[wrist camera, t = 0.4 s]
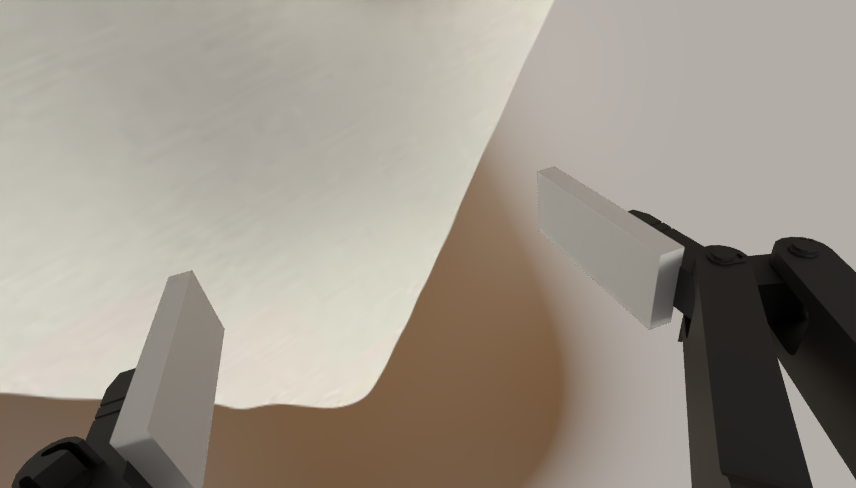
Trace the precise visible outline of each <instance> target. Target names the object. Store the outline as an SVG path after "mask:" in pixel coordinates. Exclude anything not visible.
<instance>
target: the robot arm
mask: <svg viewBox="0 0 856 488" xmlns="http://www.w3.org/2000/svg"><path fill="white" fill-rule="evenodd" d="M537 183H538V221H539V232H541V233H542V234H543V235H544V236H545V237H546V238H547V239H548V240H549V241H551V242H552V243H553V244H554V245H555V246H556V247H557V248H558V249H559V250H561V251H562V252H563V253H564V254H565V255H566V256H567V257H568V258H570V259H571V260H572V261H573V262H574V263H575V264H576V265H577V266H578V267H580V268H581V269H582V270H583V271H584V272H585V273H586V274H587V275H588V276H590V277H591V278H592V279H593V280H594V281H595V282H596V283H597V284H599V285H600V286H601V287H602V288H603V289H604V290H605V291H606V292H608V293H609V294H610V295H611V296H612V297H613V298H614V299H615V300H616V301H618V302H619V303H620V304H621V305H622V306H623V307H624V308H625V309H626V310H627V311H629V312H630V313H631V314H632V315H633V316H634V317H635V318H636V319H638V320H639V321H640V322H641V323H642V324H643V325H644V326H645V327H646V328H648V329H649V330H650V329H653V328H656V327H658V326H661V325H664V324H667V323H669V322H671V318H672V312H673V307H675V308H677V309H678V310H679V311H680V312H682V313H683V319H682V324H681V329H680V334H679V339H678V341H679V342H682V341H683V352H684V368H685V383H686V401H687V417H688V432H689V448H690V465H691V481H692V488H813V486H812V483H811V480H810V475H809V472H808V468H807V465H806V461H805V457H804V454H803V450H802V446H801V443H800V439H799V435H798V432H797V428H796V424H795V421H794V417H793V413H792V410H791V407H790V403H789V399H788V395H787V392H786V388H785V384H784V381H783V377H782V374H781V370H780V367H779V363H778V359H779V361H780V362H781V364H782V365H783V367H784V368H785V370H786V372H787V373H788V375H789V376H790V378H791V379H792V381H793V383H794V384H795V385H796V387H797V389H798V390H799V392H800V393H801V395H802V397H803V398H804V400H805V401H806V403H807V404H808V406H809V407H810V409H811V411H812V412H813V414H814V415H815V417H816V418H817V420H818V421H819V423H820V424H821V426H822V427H823V429H824V431H825V432H826V434H827V435H828V437H829V439H830V440H831V442H832V443H833V445H834V446H835V448H836V449H837V451H838V453H839V454H840V456H841V457H842V459H843V460H844V462H845V463H846V465H847V466H848V468H849V469H850V471H851V473H852V474H853V476H854V478H855V479H856V272H855V271H854V270H853V269H852V268H851V267H850V266H849V265H848V264H846V263H845V261H843V260H842V259H841V258H840V257H839V256H838V255H837V254H836V253H835V252H834V251H833V250H832V249H831V248H829V247H828V246H826V245H825V244H823V243H820V242H817V241H815V240H813V239H809V238H808V239H807V238H803V237H788V238H782V239H780V240H778V241H776V242H775V244H774V247H773V250H772V253H771V254H765V255H755V256H747V255H746V254H744V253H743V252H741V251H740V250H737V249H734V248H731V247H727V246H721V245H710V246H706V247H704V246H702V245H700V244H699V243H697V242H695V241H694V240H692V239H690V238H689V237H687V236H685V235H683V234H682V233H680V232H678V231H677V230H675V229H671V227H670V226H668V225H667V224H665V223H661V221H660V220H658V219H656V218H655V217H653V216H651V215H650V214H647V213H643V212H640V211H636V210H631V211H628V212H627V211H626V210H624V209H622V208H621V207H619V206H618V205H616V204H614V203H612V202H611V201H609V200H608V199H606V198H605V197H603V196H601V195H600V194H598V193H597V192H595V191H593V190H592V189H590V188H588V187H586V186H585V185H584V184H582V183H580V182H579V181H577V180H575V179H574V178H572V177H571V176H569V175H567V174H566V173H564V172H563V171H561V170H559V169H558V168H556V167H551V168H548V169H544V170H541V171H538V172H537ZM223 336H224V327H223V325H222V324H221V322H220V320H219V318H218V316H217V315H216V313H215V311H214V309H213V307H212V305H211V304H210V302H209V300H208V298H207V296H206V295H205V293H204V291H203V289H202V287H201V286H200V284H199V282H198V280H197V278H196V276H195V275H194V273H193V271H192V270H191V271H188V272H184V273H181V274H177V275H174V276H170V277H169V278H168V281H167V283H166V286H165V289H164V292H163V295H162V297H161V300H160V303H159V306H158V309H157V311H156V314H155V317H154V320H153V322H152V325H151V328H150V331H149V334H148V336H147V339H146V342H145V345H144V348H143V350H142V353H141V356H140V359H139V361H138V364H137V367H136V368H134V369H131V370H128V371H125V372H122V373H120V374H119V375H118V376H117V377H116V379H115V380H114V381H113V382H112V383H111V385H110V386H109V387H108V388H107V389H106V392H105V394H104V397H103V399H102V402H101V405H100V406H101V407H100V408H99V409H98V411H97V414H96V416H95V421H93V423H92V426H91V428H90V430H89V433H88V435H87V438H86V440H85V441H84V439H81V438H79V437H67V438H63V439H61V440H58V441H56V442H53V443H51V444H50V445H48V446H46V447H45V448H43V449H42V450H40V451H38V452H37V453H36V454H35V455H34V456H33V457H32V458H30V459H29V460H28V461H27V462H26V463H25V464H24V465H23V467H22V468H21V469H20V470H19V472H18V473H17V474H16V476H15V479H14V481H13V484H12V488H202V487H203V479H204V472H205V465H206V458H207V451H208V444H209V437H210V429H211V422H212V414H213V407H214V401H215V393H216V386H217V379H218V372H219V365H220V357H221V350H222V343H223ZM777 358H778V359H777Z"/></svg>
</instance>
